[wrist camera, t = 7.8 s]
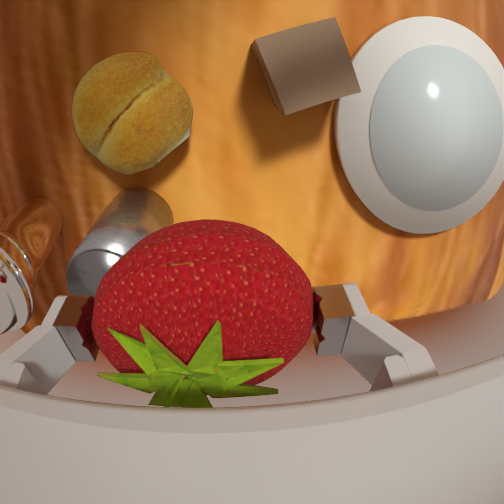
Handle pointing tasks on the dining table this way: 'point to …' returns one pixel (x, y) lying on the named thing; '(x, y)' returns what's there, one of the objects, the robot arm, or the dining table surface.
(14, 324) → the cup with straw
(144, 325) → the strawberry
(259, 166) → the dining table surface
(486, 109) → the plate
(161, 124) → the bread roll
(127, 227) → the drinking glass
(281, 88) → the walnut block
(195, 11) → the dining table surface
